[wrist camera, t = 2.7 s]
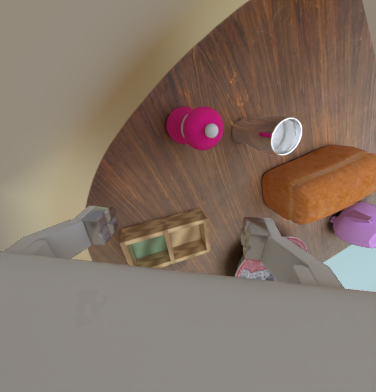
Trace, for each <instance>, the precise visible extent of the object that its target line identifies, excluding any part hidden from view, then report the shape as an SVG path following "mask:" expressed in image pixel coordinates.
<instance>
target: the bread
mask: <svg viewBox="0 0 376 392" xmlns="http://www.w3.org/2000/svg"><path fill="white" fill-rule="evenodd" d="M262 191H263V198H264V201H265V204H266V206H268V207H269V208H270V209H272V210H273V211H275V212H276V213H278V214H279V215H281V216H282V217H284V218H286V219H288V220H292V221H293V222H295V223H297V224H301V225H303V224H307V223H311V222H314V221H317V220H319V219H322V218H324V217H327V216H329V215H332V214H334V213H336V212H339V211H341V210H343V209H345V208H347V207H350V206H352V205H353V204H355V203H357V202H358V201H360V200H361V199H363V198H365V197H366V196H368V195H370V194H372V193H373V192H375V191H376V154H374V153H367V152H366V151H364V150H361V149H358V148H354V147H349V146H340V145H329V146H326V147H323V148H321V149H318V150H316V151H314V152H311V153H309V154H307V155H305V156H303V157H300V158H298V159H295V160H293V161H291V162H288V163H286V164H283V165H281V166H278V167H276V168H274V169H272V170H270V171H268V172H267V173H266V174H264V176H263V180H262Z"/></svg>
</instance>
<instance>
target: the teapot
mask: <svg viewBox="0 0 376 392" xmlns="http://www.w3.org/2000/svg"><path fill="white" fill-rule="evenodd" d="M330 222H332V223H334V224H333V229H334V231H335V233H336V235H337V236H338V237H339V238H340V239H341V240H343V241H345V242H348V243H350V244H353V245H357V246H361V247H366V248H375V247H376V206H374V205H372V204H370V203H367V202H358V203H355V204H353V205H352V206H350V207H347V208H345V210H343V211H342V212H341V213H340V215H339V216H338V217H336V216H333V217H332V218H331V220H330Z"/></svg>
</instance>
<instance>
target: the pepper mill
mask: <svg viewBox="0 0 376 392" xmlns="http://www.w3.org/2000/svg"><path fill="white" fill-rule="evenodd" d="M166 128H167V131H168V134H169V136H170V137H171V138H172V139H173V140H174V141H175V142H177V143H180V144H189V145H190V146H191V147H192V148H195V149H197V150H208V149H210V148H212V147H214V146H215V145H217V143H218V142H219V141H220V139H221V137H222V135H223V130H224V129H223V121H222V118H221V116H220V115H219V113H218V112H217V111H216V110H214V109H212V108H210V107H205V106H204V107H198V108H195V109H192V108H190V107H178V108H176V109H175V110H173V111H172V112H171V114H170V115H169V117H168V118H167V122H166Z"/></svg>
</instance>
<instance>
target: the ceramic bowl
mask: <svg viewBox="0 0 376 392" xmlns="http://www.w3.org/2000/svg"><path fill="white" fill-rule="evenodd" d="M284 237H285V238H287V239H288V240H290V241H291V242H293V243H294V244H296V245H297V246H299V247H300V248H301V249H303V250H304V251H306V252H307V249H306V246H305V244H304V243H303V242H302V241H301V240H300V239H298V238H296V237H291V236H284ZM234 277H240V278H249V279H259V280H268V281H277V280H276V279H275V278H274V276H273V275H272V274H271V273H270V272H269V271H268V270H267V269H266V267H265V266H264V265H263V264H262V263H261V262H260V261H256V260H248V259H245V258H244V254H243V256H242V257H241V259H240V261H239V263H238V266H237V271H236V273H235V276H234ZM277 282H278V281H277Z"/></svg>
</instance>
